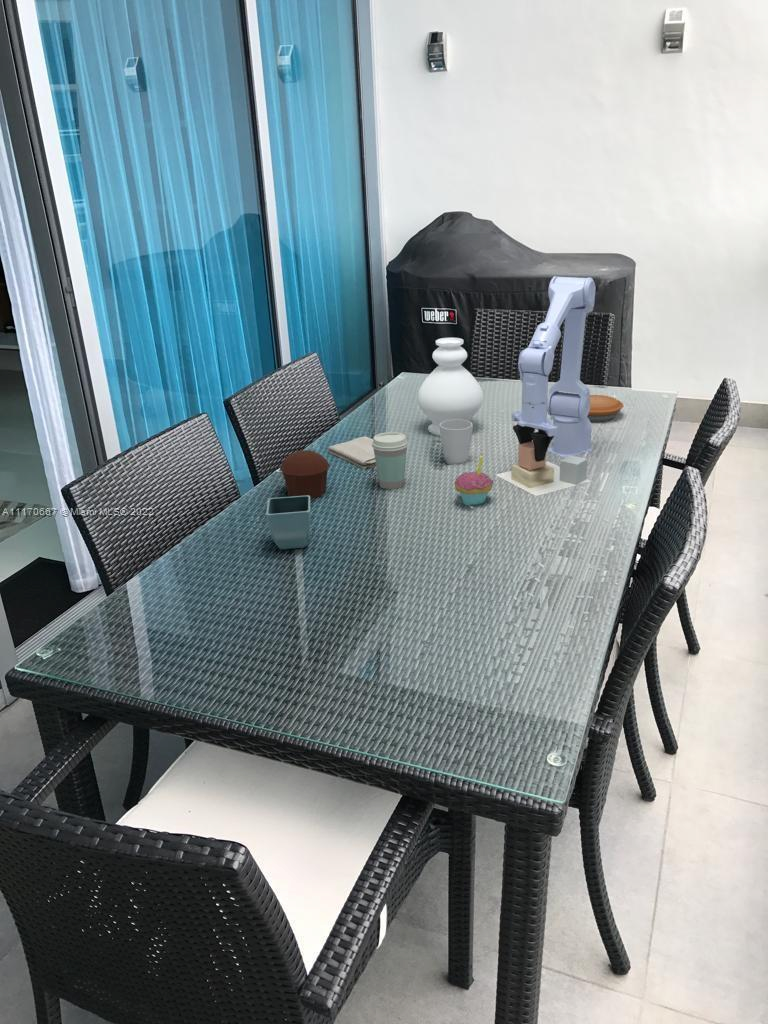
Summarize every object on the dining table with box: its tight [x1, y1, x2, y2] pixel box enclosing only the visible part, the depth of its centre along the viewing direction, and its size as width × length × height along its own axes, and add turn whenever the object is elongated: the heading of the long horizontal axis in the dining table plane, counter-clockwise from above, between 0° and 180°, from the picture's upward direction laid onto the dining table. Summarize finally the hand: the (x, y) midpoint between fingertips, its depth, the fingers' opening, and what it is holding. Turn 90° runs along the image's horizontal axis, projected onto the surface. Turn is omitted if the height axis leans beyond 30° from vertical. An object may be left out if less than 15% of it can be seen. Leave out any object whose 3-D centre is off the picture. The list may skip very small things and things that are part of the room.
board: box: [495, 461, 591, 497], centre depth 208 cm, size 16×16×1 cm
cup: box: [440, 419, 473, 466], centre depth 219 cm, size 8×8×10 cm
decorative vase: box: [417, 337, 484, 437], centre depth 240 cm, size 18×18×25 cm
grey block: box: [559, 455, 588, 486], centre depth 204 cm, size 4×4×5 cm
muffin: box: [279, 449, 331, 501], centre depth 205 cm, size 12×11×10 cm
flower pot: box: [265, 495, 311, 550], centre depth 180 cm, size 9×9×9 cm
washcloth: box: [327, 436, 377, 470], centre depth 228 cm, size 12×18×3 cm, turn 37°
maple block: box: [511, 463, 554, 488], centre depth 205 cm, size 7×7×4 cm
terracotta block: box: [517, 440, 547, 470], centre depth 203 cm, size 4×4×5 cm
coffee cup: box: [372, 431, 409, 490], centre depth 207 cm, size 8×8×12 cm
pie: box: [587, 394, 624, 423], centre depth 250 cm, size 16×16×5 cm
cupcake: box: [454, 453, 494, 507], centre depth 195 cm, size 9×8×12 cm
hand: (533, 457), depth 204 cm, fingers closed on terracotta block, 5 cm apart
